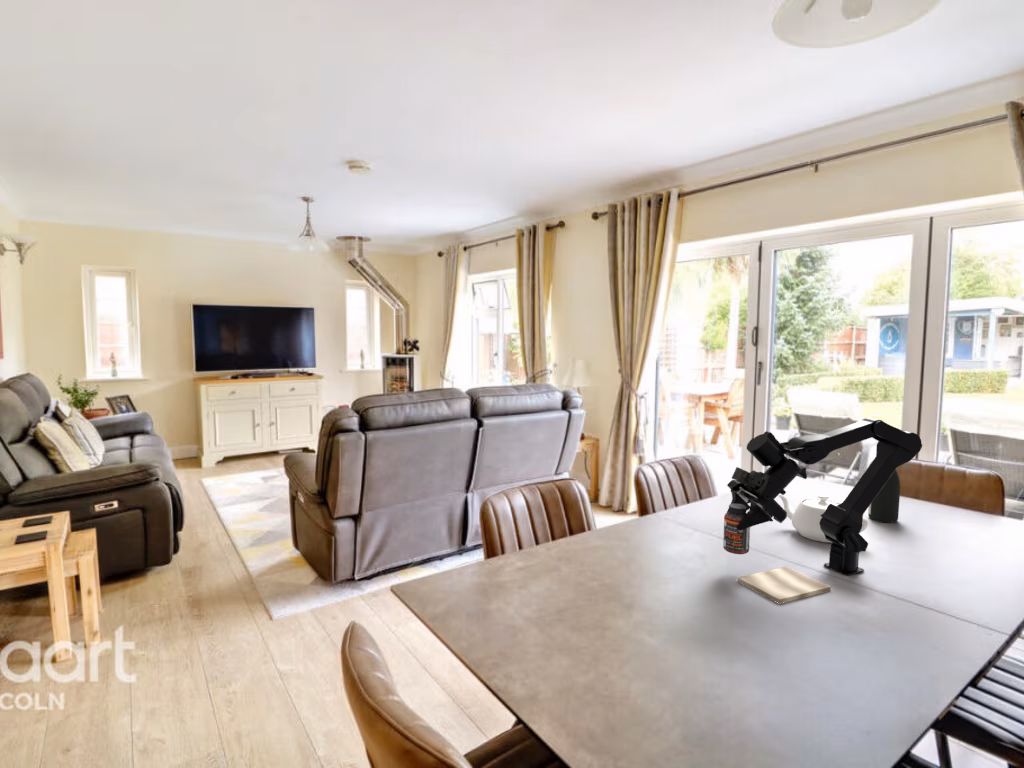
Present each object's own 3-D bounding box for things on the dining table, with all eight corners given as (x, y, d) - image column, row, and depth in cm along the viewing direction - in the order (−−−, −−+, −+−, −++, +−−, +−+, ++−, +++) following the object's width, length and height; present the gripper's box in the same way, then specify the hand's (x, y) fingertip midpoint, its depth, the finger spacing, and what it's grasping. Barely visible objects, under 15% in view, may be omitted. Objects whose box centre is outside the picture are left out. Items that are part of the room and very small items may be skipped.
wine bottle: (862, 517, 178) (867, 425, 175) (877, 514, 181) (883, 423, 179) (888, 525, 171) (894, 429, 168) (903, 521, 174) (910, 427, 172)
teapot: (875, 542, 157) (878, 500, 156) (855, 555, 147) (858, 510, 146) (785, 519, 176) (788, 481, 175) (763, 529, 166) (765, 489, 165)
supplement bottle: (721, 552, 135) (722, 507, 134) (724, 544, 140) (725, 500, 139) (748, 557, 132) (749, 510, 131) (750, 548, 137) (751, 503, 136)
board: (786, 570, 138) (786, 566, 138) (830, 590, 127) (830, 586, 127) (737, 581, 132) (737, 577, 131) (779, 603, 121) (779, 599, 120)
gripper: (735, 448, 143) (693, 491, 143) (775, 465, 125) (727, 515, 125) (763, 477, 145) (722, 520, 145) (807, 498, 126) (760, 547, 126)
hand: (731, 524), depth 135 cm, fingers closed on supplement bottle, 6 cm apart
